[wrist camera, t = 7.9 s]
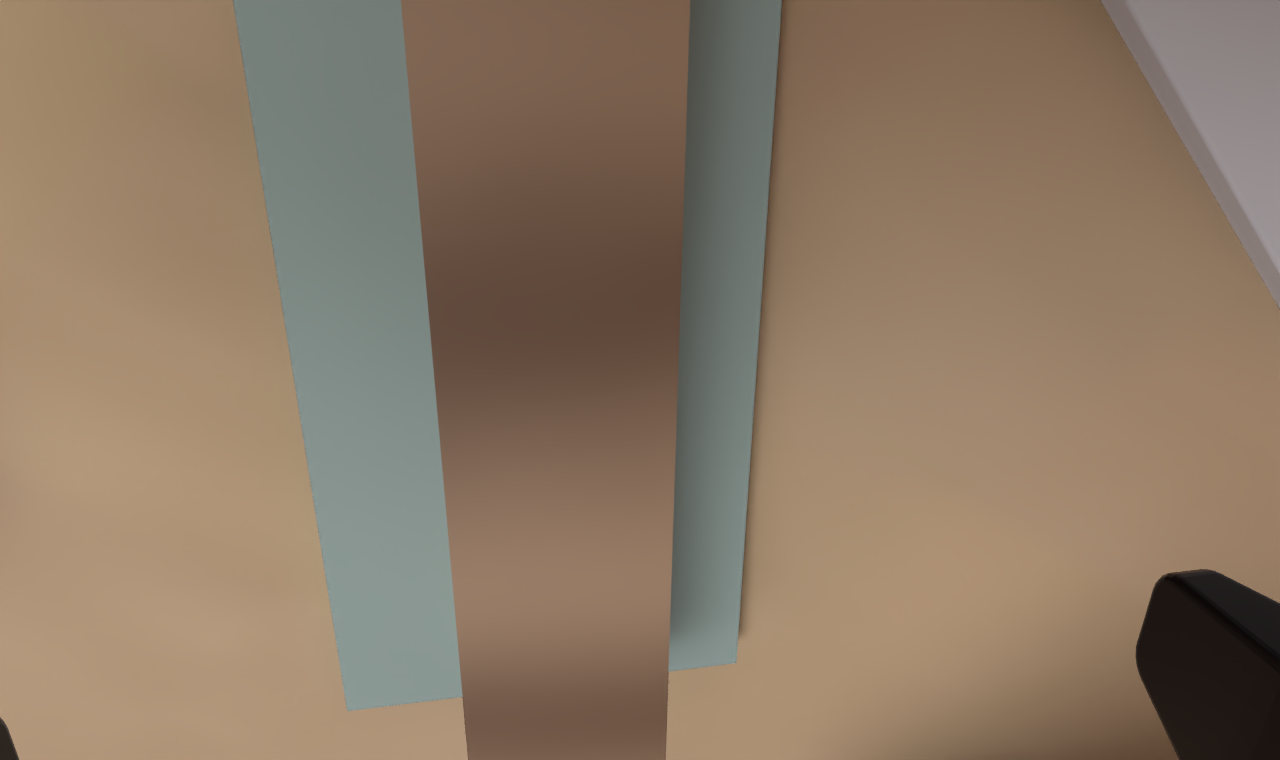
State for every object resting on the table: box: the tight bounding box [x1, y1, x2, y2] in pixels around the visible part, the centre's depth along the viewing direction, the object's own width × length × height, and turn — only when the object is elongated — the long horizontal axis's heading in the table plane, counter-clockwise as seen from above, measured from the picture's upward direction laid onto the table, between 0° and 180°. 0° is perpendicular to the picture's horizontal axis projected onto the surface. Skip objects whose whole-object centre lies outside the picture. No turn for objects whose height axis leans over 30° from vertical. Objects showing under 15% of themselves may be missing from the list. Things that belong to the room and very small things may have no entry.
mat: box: [233, 0, 782, 711], centre depth 17 cm, size 17×7×1 cm, turn 179°
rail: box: [401, 0, 690, 760], centre depth 15 cm, size 16×3×3 cm, turn 179°
